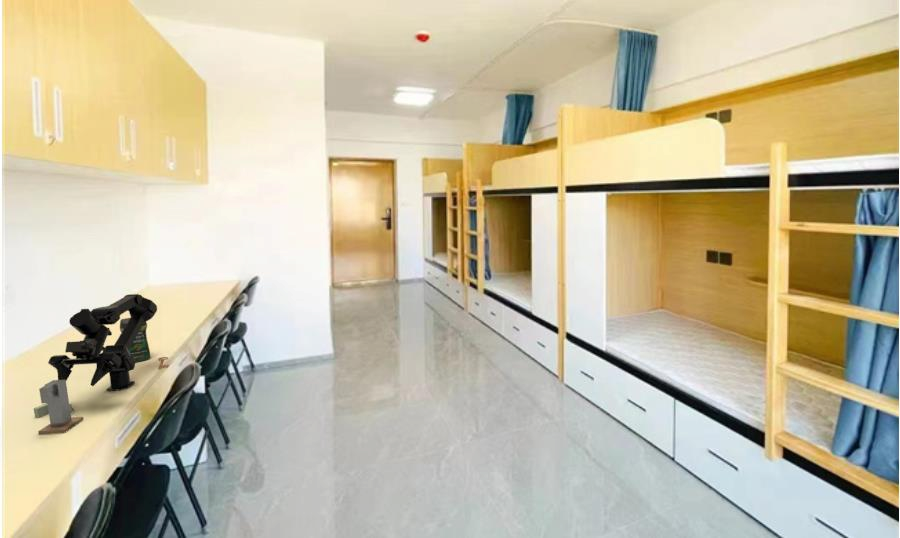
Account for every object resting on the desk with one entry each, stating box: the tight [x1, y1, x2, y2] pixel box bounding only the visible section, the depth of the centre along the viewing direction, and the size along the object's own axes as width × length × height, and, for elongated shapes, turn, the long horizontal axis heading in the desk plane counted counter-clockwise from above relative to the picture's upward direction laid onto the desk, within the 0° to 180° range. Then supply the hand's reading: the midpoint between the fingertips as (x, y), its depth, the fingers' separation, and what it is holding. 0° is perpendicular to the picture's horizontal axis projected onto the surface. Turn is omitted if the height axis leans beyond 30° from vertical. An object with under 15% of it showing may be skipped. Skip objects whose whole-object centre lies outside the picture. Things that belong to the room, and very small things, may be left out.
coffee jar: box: [119, 317, 151, 363], centre depth 192 cm, size 10×8×19 cm
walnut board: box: [37, 416, 85, 435], centre depth 135 cm, size 8×7×1 cm
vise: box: [33, 403, 75, 419], centre depth 144 cm, size 6×9×3 cm
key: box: [157, 356, 170, 370], centre depth 189 cm, size 6×1×15 cm
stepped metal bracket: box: [38, 379, 72, 427], centre depth 133 cm, size 6×3×13 cm, turn 7°
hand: (75, 386), depth 142 cm, fingers open, 9 cm apart
